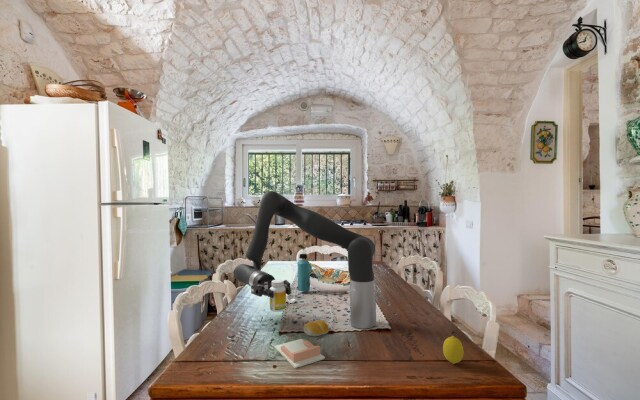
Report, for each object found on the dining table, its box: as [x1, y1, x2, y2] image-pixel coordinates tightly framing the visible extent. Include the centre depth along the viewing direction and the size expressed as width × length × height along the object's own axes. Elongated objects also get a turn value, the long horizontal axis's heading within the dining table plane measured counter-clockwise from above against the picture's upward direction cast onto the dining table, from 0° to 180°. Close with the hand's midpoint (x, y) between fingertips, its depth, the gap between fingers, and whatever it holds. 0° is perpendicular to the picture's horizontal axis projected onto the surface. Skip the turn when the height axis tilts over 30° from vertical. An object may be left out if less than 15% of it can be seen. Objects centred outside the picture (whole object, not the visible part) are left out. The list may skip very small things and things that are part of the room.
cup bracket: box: [274, 338, 326, 369], centre depth 99 cm, size 15×10×3 cm, turn 31°
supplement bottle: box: [269, 278, 287, 313], centre depth 106 cm, size 5×5×10 cm
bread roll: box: [303, 320, 330, 337], centre depth 115 cm, size 8×9×4 cm
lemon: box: [442, 335, 465, 365], centre depth 92 cm, size 6×6×8 cm
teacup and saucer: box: [286, 294, 297, 304], centre depth 148 cm, size 9×8×4 cm
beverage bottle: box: [296, 253, 311, 292], centre depth 164 cm, size 6×7×20 cm
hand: (281, 293), depth 104 cm, fingers closed on supplement bottle, 5 cm apart
